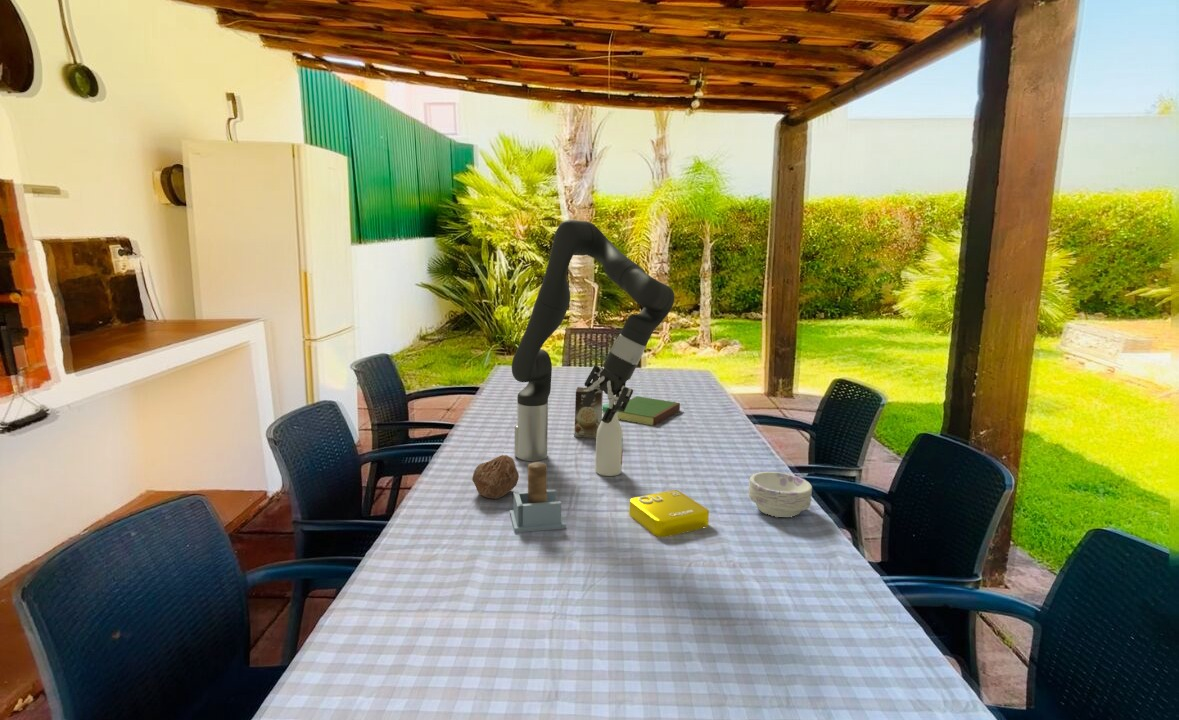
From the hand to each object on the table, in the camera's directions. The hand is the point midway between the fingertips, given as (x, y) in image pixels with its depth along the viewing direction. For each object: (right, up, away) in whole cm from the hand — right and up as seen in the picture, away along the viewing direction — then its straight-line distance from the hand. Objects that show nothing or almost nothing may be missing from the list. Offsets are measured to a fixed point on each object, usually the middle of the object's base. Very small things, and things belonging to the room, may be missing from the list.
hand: (595, 414), depth 160 cm
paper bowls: (+47, -25, +4) cm, 53 cm away
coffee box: (-2, -13, +61) cm, 62 cm away
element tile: (+18, -26, -3) cm, 32 cm away
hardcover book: (+20, -8, +89) cm, 91 cm away
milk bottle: (+4, -19, +27) cm, 34 cm away
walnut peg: (-14, -24, -6) cm, 28 cm away
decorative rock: (-26, -22, +10) cm, 35 cm away
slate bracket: (-14, -25, -6) cm, 29 cm away
